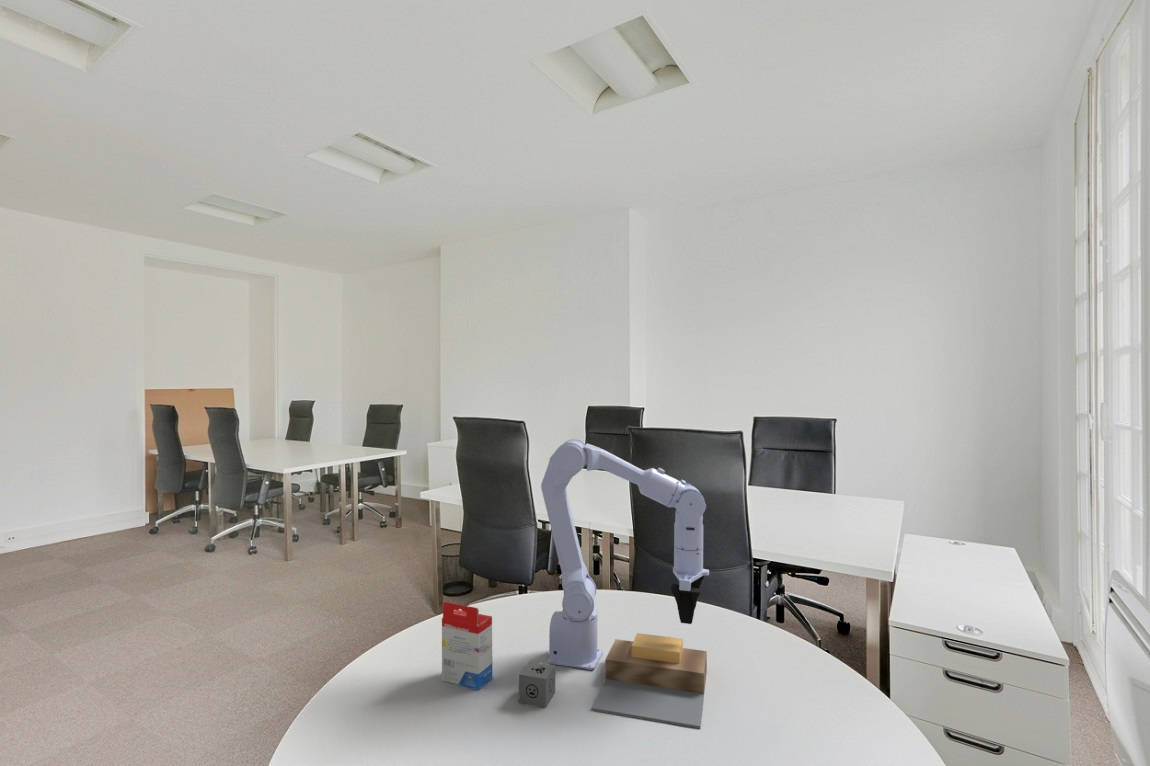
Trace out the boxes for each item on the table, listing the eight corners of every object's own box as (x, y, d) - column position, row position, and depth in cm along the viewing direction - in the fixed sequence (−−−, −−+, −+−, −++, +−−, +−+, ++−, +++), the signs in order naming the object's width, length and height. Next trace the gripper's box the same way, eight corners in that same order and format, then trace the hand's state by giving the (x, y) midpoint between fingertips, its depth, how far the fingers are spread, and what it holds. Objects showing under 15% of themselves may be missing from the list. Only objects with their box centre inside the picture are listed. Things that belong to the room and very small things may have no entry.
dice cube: (545, 708, 94) (546, 678, 94) (518, 703, 95) (518, 674, 96) (555, 693, 99) (555, 665, 99) (529, 689, 100) (529, 661, 100)
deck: (605, 681, 103) (605, 659, 103) (615, 659, 111) (615, 639, 112) (703, 696, 98) (703, 673, 98) (706, 672, 106) (706, 651, 106)
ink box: (493, 678, 104) (493, 600, 104) (478, 691, 99) (478, 609, 100) (456, 669, 107) (457, 593, 108) (440, 680, 103) (440, 601, 103)
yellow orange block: (631, 656, 104) (631, 646, 104) (637, 643, 110) (637, 633, 110) (679, 663, 102) (679, 652, 102) (682, 649, 107) (682, 638, 107)
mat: (591, 710, 93) (591, 707, 93) (606, 678, 104) (606, 676, 104) (700, 728, 88) (700, 726, 88) (704, 693, 99) (704, 691, 99)
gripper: (706, 558, 102) (706, 632, 102) (711, 539, 116) (710, 604, 116) (668, 555, 104) (667, 627, 104) (677, 536, 118) (676, 600, 118)
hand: (688, 615), depth 110 cm, fingers open, 7 cm apart
